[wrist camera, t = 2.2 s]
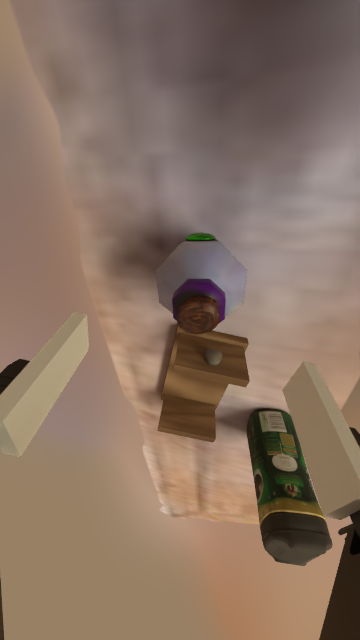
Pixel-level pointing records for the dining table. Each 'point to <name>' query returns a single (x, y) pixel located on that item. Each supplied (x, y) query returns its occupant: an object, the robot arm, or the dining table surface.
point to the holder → (200, 381)
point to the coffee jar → (284, 491)
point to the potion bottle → (201, 283)
